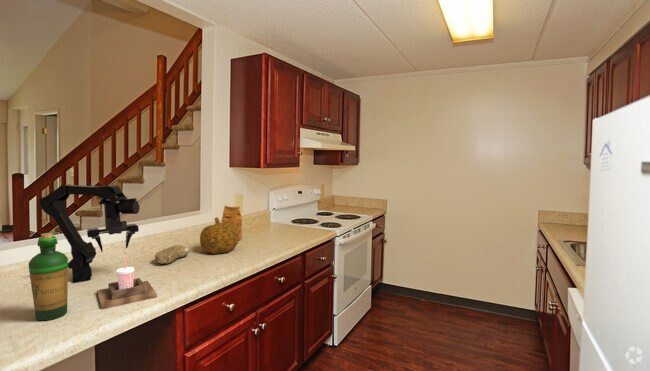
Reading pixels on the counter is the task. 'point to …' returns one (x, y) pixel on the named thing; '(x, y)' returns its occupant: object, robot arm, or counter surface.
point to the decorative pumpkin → (219, 238)
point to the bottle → (49, 279)
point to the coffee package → (233, 218)
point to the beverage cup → (125, 276)
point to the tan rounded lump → (171, 254)
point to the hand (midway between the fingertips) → (114, 249)
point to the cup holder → (125, 293)
